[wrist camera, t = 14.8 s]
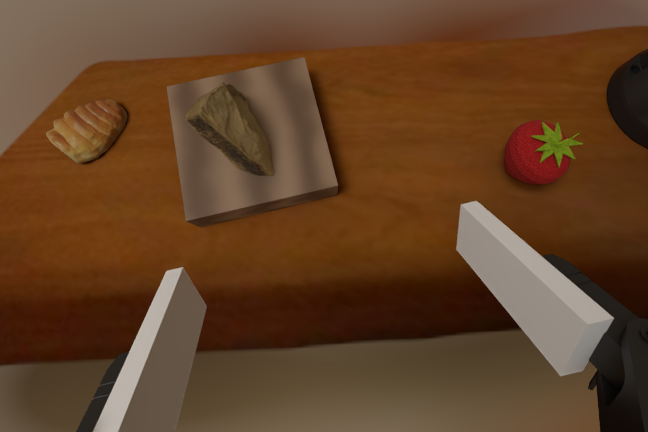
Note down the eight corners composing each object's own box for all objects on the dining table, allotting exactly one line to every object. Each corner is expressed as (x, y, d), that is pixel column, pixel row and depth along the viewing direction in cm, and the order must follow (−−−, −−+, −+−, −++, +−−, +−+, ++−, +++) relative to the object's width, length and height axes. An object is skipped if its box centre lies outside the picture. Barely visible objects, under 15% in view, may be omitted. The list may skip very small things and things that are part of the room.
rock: (201, 75, 35) (168, 145, 32) (226, 29, 28) (188, 112, 25) (278, 124, 41) (257, 188, 37) (314, 95, 34) (292, 170, 31)
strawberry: (520, 139, 40) (583, 94, 30) (540, 191, 38) (614, 161, 28) (478, 148, 39) (528, 105, 30) (497, 201, 38) (556, 174, 28)
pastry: (110, 96, 42) (89, 78, 38) (141, 124, 41) (123, 109, 37) (57, 141, 40) (30, 127, 37) (89, 172, 40) (64, 161, 36)
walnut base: (306, 77, 42) (304, 57, 38) (336, 195, 38) (338, 185, 34) (181, 104, 41) (166, 86, 37) (200, 227, 37) (185, 221, 34)
